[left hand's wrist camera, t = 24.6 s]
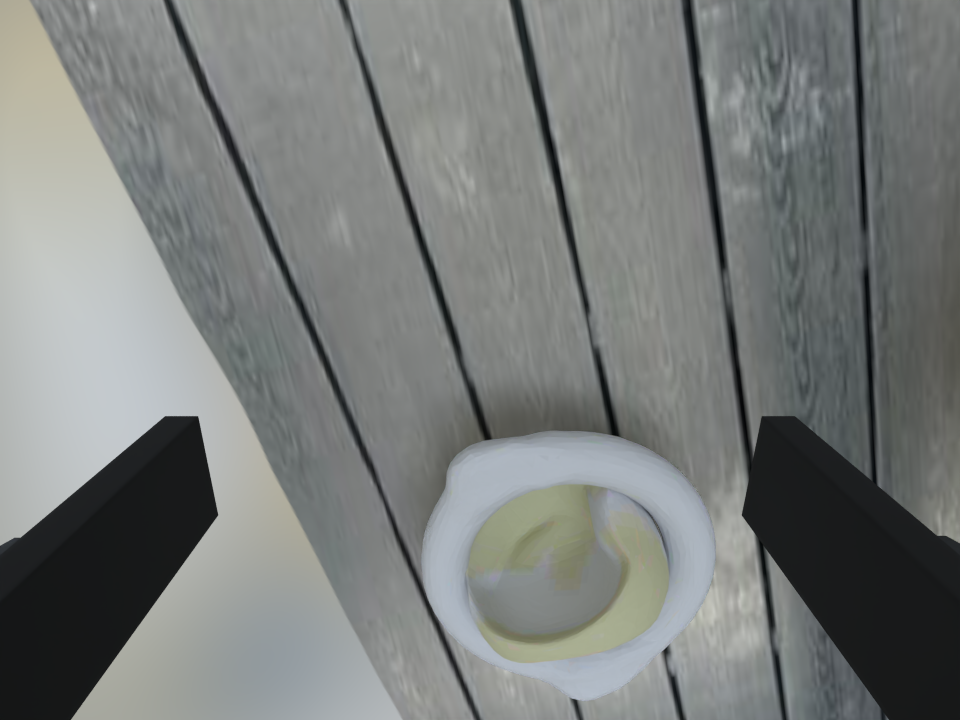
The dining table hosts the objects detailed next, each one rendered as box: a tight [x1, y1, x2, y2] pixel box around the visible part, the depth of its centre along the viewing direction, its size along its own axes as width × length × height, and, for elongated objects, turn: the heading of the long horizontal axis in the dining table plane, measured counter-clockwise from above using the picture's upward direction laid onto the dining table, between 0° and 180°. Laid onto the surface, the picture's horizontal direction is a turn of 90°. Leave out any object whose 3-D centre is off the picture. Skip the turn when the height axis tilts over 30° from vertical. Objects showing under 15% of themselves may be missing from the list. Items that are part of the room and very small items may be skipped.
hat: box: [421, 431, 716, 701], centre depth 41 cm, size 25×22×15 cm
